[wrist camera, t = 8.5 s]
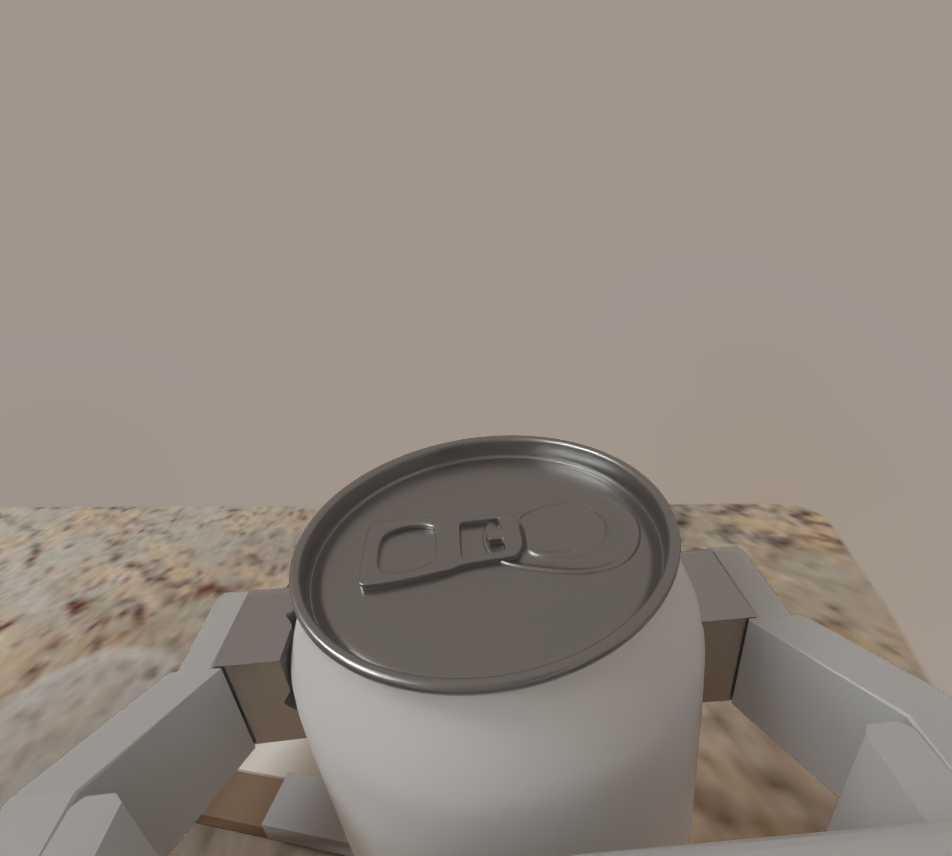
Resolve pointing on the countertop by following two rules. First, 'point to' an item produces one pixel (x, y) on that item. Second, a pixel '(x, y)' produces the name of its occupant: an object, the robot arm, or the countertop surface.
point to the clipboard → (280, 799)
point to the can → (500, 654)
